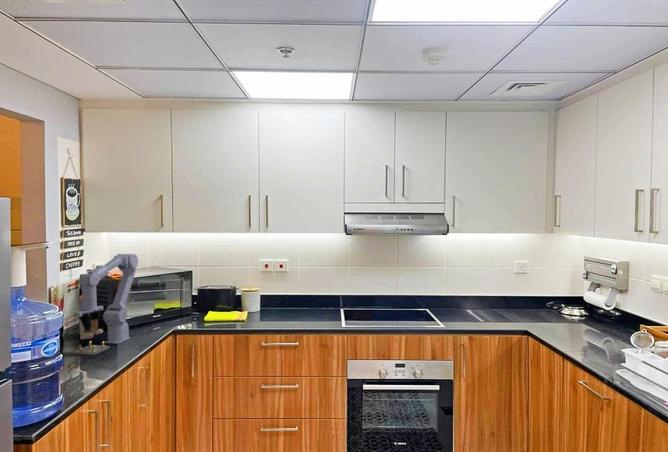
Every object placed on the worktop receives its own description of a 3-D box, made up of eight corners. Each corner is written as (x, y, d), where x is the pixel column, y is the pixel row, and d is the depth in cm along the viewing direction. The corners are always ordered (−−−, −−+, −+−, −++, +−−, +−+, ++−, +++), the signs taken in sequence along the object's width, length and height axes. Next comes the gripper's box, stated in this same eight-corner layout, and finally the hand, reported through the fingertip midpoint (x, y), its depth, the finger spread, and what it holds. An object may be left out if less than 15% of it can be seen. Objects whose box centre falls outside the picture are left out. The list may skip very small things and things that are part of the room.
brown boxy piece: (89, 330, 212) (89, 318, 212) (106, 331, 210) (105, 318, 210) (76, 335, 204) (75, 322, 204) (93, 335, 202) (92, 322, 202)
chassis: (90, 347, 214) (89, 339, 213) (109, 347, 211) (109, 340, 211) (73, 353, 204) (73, 346, 204) (94, 354, 201) (93, 347, 201)
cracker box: (82, 333, 239) (80, 294, 238) (95, 331, 241) (93, 293, 240) (79, 340, 226) (77, 299, 225) (92, 338, 228) (90, 297, 228)
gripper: (85, 302, 198) (86, 333, 199) (108, 296, 213) (109, 325, 213) (71, 302, 200) (72, 332, 200) (95, 296, 214) (96, 324, 215)
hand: (90, 328), depth 207 cm, fingers closed on brown boxy piece, 4 cm apart
